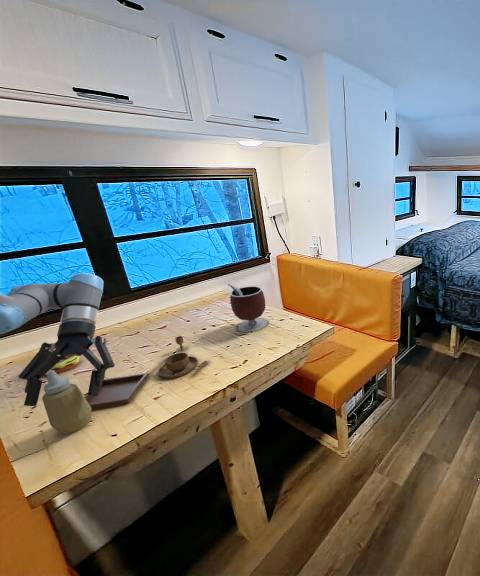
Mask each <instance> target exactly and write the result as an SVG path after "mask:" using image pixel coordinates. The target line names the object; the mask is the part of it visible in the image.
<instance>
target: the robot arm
mask: <svg viewBox="0 0 480 576" xmlns="http://www.w3.org/2000/svg"><path fill="white" fill-rule="evenodd" d="M103 293H104V280H103V279H102V278H101V277H100V276H98V275H95V274H93V273H86V272H85V273H84V272H83V273H76V274H73V275H72V276H71V277H70V279H69V281H67V282H58V283H57V282H53V283H28V284H27V283H26V284H23V285H21V284H20V285H15V286H13V287H12V288H10V291H8V293H7V295H6V294H4V293H1V292H0V335H4V334H7V333H9V332H11V331H14V330H16V329H18V328H21V327H22V326H24V324H26V323H28V322H29V321H31V320H32V319H35V318H36V317H38V316H40V315H41V314H44V313H45V312H47V311H49V310H58V309H59V310H60V309H62V313H61V315H60V316H61V317H60V322H59V323H60V324H59V326H58V329H57V335H56V336H57V340H56V341H55V342H54V343H53V342H52V343H49V342H46V341H45V342H43V343H41V344H40V345H41V346H40V347H39V350H38V352H36V354H35V355H34V357H33V358H32V359H31V360H30V361H29V362H28V363H27V365H26V366H25V367H24V368H23V370H22V371H21V372H20V374H18V379H21V380H26V384H25V387H24V393H25V394H26V395H25V399H24V403H23V407H25V406H26V407H37V406H38V401H39V398H40V394H41V390H42V385H43V379H42V378H43V377H44V376H46V375H45V374H46V373H47V372H48V371H49V370H50V369H51V368H52V367H54V366H55V365H56V364H57V363H58V362H59V361H60V360H63V359H64V358H65V357H73V356H80V357H81V356H83V357H84V358H85V359H86V360H87V361H88V362H89V363H90V364H91V365H92V366H93V367H94V369H93V370H91V375H90V381H89V385H88V391H87V393H88V395H90V396H98V392H99V386H100V382H103V381H104V379H105V377H106V376H105V375H106V371H107V370H108V369H111V368H114V367H115V366H116V364H115V362H114V359H113V357H112V355H111V354H110V352H109V350H108V347H107V345H106V342H107V339H106V338H105V337H103V336H100V335H96V336H95V332H96V328H97V326H96V325H97V323H98V322H97V321H98V317H99V313H100V305H101V300H102V297H103ZM93 345H94V346H95V348H96V351H97V352H98V355H99V357H100V358H101V359H99V358H98V356H97V355H95V353H94V352H93V350H91V347H92V346H93ZM55 348H56V350H54V349H55ZM52 351H53V352H52ZM58 354H60V355H58ZM49 356H50V357H49ZM41 379H42V380H41Z"/></svg>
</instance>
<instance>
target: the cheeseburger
mask: <svg viewBox="0 0 480 576" xmlns="http://www.w3.org/2000/svg"><path fill="white" fill-rule="evenodd" d="M54 350H56V348H55V349H54ZM52 352H53V351H52ZM58 355H60V354H58ZM49 357H50V356H49ZM80 357H81V356H73V357H65V358H64V359H63V360H60V361H59V362H58V363H57V364H56V365H55V366H54V367H52V368H51V369H50V370H49V371H51V370H54V371H55V373H56V374H58V373H59V374H60V373H62V372H64V371H68V370H71V369H73V368H75V367H77V366H78V365H79V364H80ZM44 376H47V373H46V374H45V375H44Z"/></svg>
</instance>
